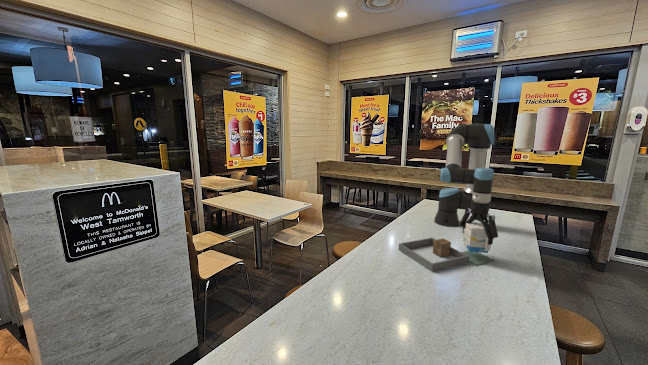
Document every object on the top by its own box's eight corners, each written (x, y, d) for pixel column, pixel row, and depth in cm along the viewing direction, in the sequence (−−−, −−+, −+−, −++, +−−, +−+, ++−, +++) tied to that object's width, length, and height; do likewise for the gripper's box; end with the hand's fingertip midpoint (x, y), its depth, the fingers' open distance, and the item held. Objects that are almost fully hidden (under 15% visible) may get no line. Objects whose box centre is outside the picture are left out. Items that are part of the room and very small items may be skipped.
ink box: (488, 253, 125) (491, 229, 123) (468, 251, 126) (471, 228, 124) (481, 245, 133) (484, 223, 131) (463, 244, 135) (465, 222, 133)
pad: (455, 254, 134) (455, 253, 134) (472, 250, 138) (472, 249, 138) (476, 265, 123) (476, 264, 123) (494, 261, 127) (494, 260, 127)
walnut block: (432, 253, 136) (433, 240, 135) (441, 251, 138) (443, 238, 137) (440, 257, 131) (441, 244, 130) (449, 255, 134) (450, 242, 132)
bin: (398, 249, 139) (398, 243, 139) (431, 243, 147) (431, 237, 147) (431, 271, 118) (432, 264, 117) (468, 263, 126) (469, 256, 125)
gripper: (454, 196, 135) (450, 237, 139) (499, 208, 113) (493, 257, 117) (465, 195, 138) (461, 235, 142) (511, 207, 116) (505, 254, 120)
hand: (475, 245), depth 129 cm, fingers closed on ink box, 11 cm apart
